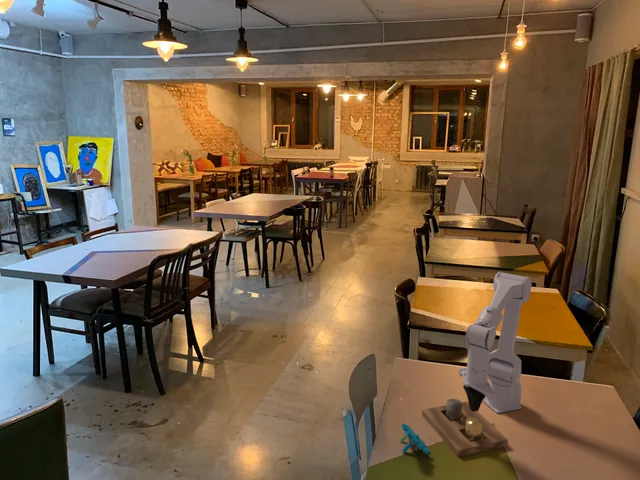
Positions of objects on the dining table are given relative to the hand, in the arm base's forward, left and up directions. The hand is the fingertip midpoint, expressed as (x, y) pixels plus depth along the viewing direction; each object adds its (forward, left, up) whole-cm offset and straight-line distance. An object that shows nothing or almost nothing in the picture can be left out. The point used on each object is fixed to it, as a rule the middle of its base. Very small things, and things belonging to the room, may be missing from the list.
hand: (474, 409), depth 134 cm
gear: (+18, -1, -10) cm, 21 cm away
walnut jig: (0, -4, -9) cm, 10 cm away
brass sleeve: (0, +1, -9) cm, 9 cm away
